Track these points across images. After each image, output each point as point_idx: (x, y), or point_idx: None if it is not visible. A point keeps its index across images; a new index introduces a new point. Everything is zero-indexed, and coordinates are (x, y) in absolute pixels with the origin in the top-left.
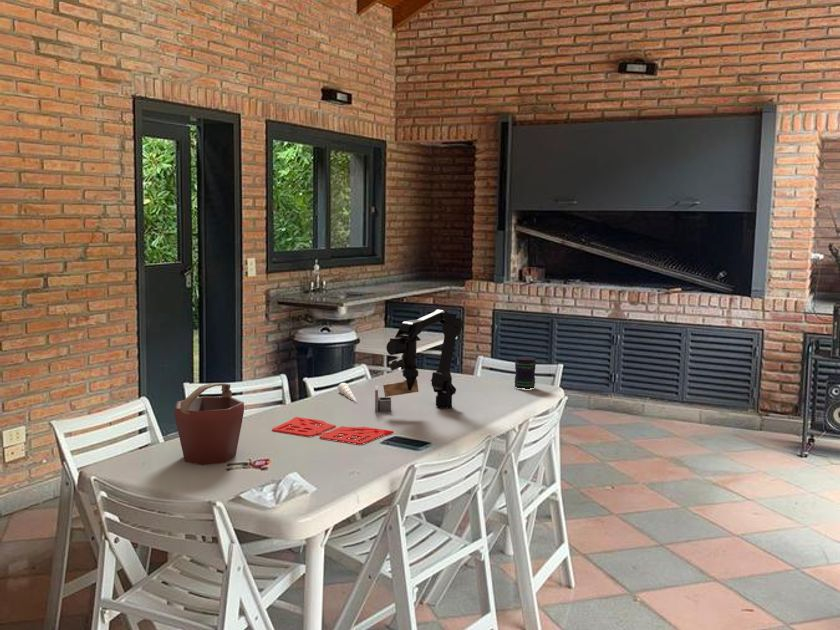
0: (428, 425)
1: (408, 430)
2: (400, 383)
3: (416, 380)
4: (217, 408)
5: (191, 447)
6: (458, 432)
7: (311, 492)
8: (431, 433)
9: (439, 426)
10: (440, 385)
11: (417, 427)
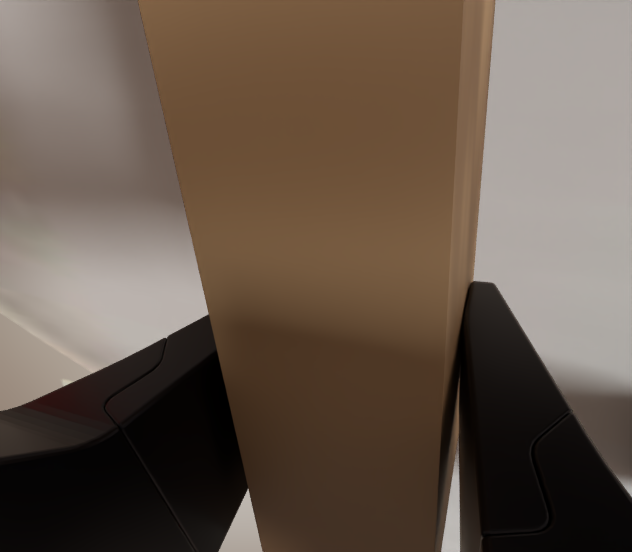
0: (161, 245)
1: (11, 113)
2: (199, 164)
3: (267, 536)
4: None
5: None
6: (106, 346)
7: None
8: (33, 237)
9: (164, 296)
10: None
11: (95, 175)
